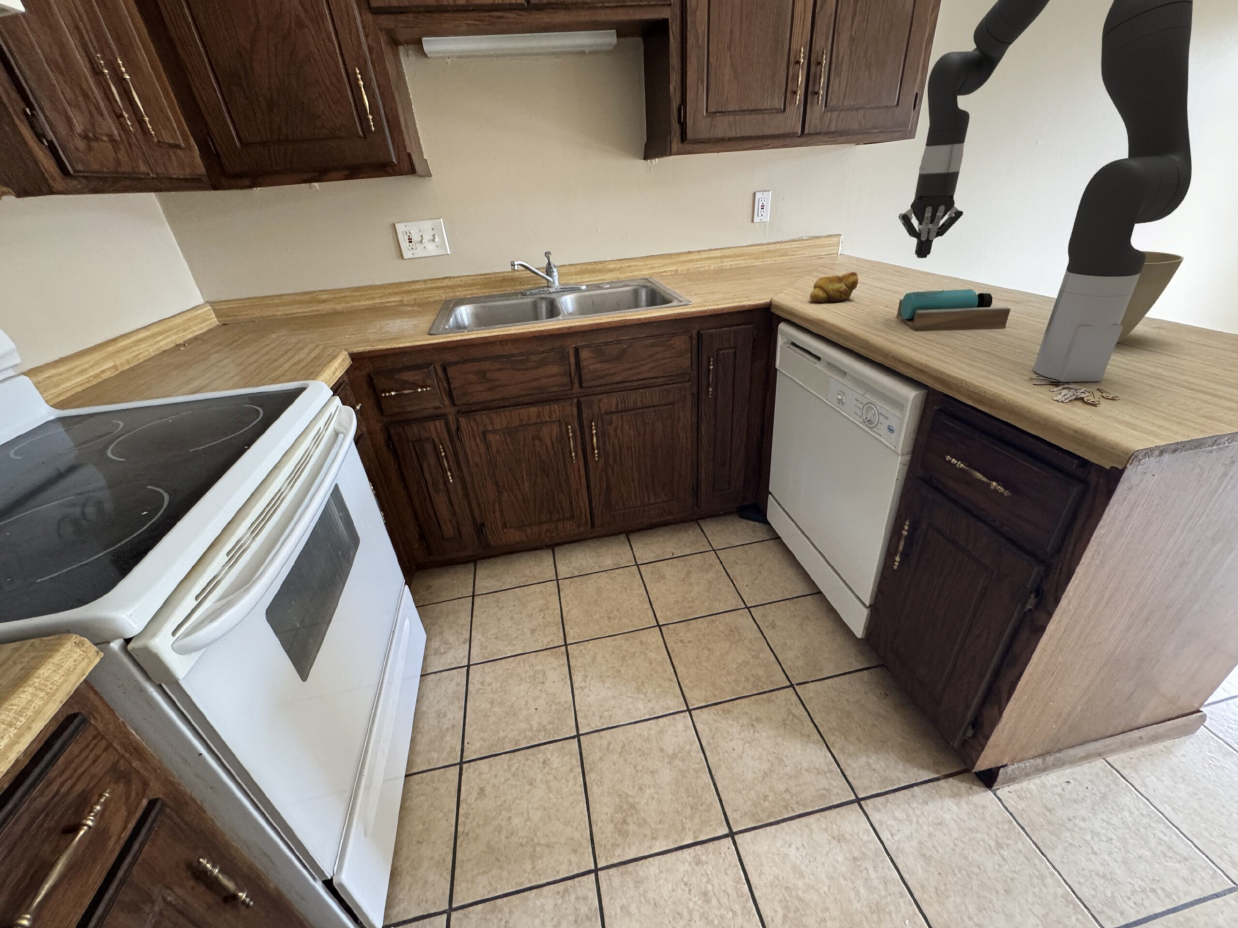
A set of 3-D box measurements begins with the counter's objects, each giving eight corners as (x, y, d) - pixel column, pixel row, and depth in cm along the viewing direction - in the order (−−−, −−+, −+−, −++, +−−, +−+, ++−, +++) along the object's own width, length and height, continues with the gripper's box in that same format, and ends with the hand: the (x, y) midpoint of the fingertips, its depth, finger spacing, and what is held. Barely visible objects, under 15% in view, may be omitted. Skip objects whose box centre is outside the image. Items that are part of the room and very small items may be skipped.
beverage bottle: (904, 321, 122) (994, 317, 120) (907, 291, 120) (999, 287, 118) (892, 320, 128) (978, 316, 126) (895, 291, 126) (983, 287, 124)
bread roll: (816, 306, 147) (819, 276, 143) (800, 299, 155) (803, 271, 151) (859, 301, 148) (863, 272, 144) (840, 295, 156) (844, 267, 152)
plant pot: (1063, 325, 116) (1090, 248, 108) (1153, 336, 106) (1190, 252, 98) (1042, 340, 108) (1070, 259, 100) (1138, 354, 98) (1176, 265, 90)
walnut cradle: (1005, 328, 117) (1010, 308, 115) (914, 330, 120) (918, 312, 118) (978, 314, 128) (983, 296, 126) (896, 316, 131) (899, 299, 129)
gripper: (912, 173, 107) (896, 262, 116) (981, 168, 106) (960, 258, 114) (899, 172, 114) (885, 257, 122) (965, 168, 112) (946, 253, 120)
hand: (921, 257), depth 118 cm, fingers closed
